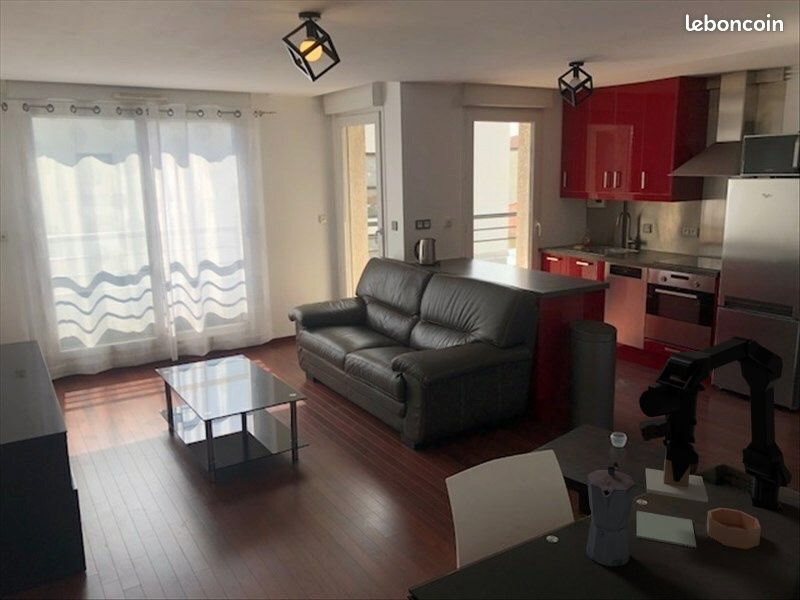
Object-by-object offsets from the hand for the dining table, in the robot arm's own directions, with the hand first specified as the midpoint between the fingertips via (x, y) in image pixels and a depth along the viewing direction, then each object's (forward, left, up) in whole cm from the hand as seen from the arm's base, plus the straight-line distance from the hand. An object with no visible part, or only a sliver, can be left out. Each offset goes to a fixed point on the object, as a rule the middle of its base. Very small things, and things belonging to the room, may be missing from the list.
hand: (675, 478), depth 140 cm
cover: (0, 0, -2) cm, 2 cm away
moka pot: (+15, -13, -13) cm, 24 cm away
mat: (0, -1, -13) cm, 13 cm away
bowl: (-3, +13, -13) cm, 18 cm away
